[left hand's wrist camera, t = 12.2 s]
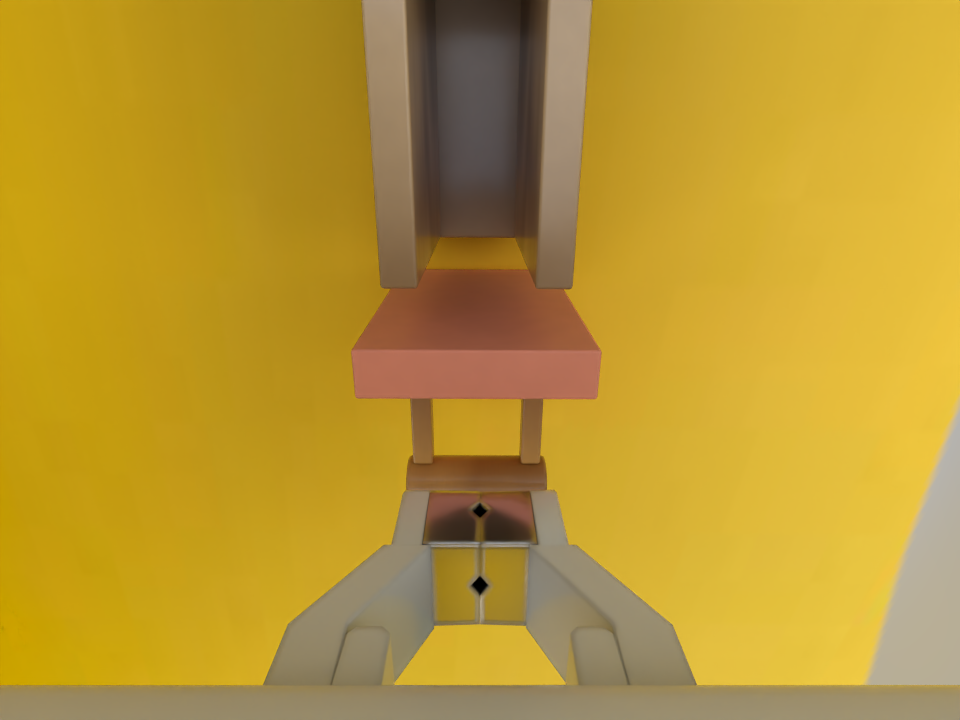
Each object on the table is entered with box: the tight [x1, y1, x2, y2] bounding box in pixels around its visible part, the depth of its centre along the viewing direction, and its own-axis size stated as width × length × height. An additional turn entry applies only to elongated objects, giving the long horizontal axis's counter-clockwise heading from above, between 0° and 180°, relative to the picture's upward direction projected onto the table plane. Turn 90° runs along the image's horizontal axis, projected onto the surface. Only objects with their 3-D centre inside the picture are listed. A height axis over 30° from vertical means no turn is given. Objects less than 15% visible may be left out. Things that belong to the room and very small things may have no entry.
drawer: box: [351, 0, 601, 492], centre depth 13 cm, size 26×6×8 cm, turn 0°
